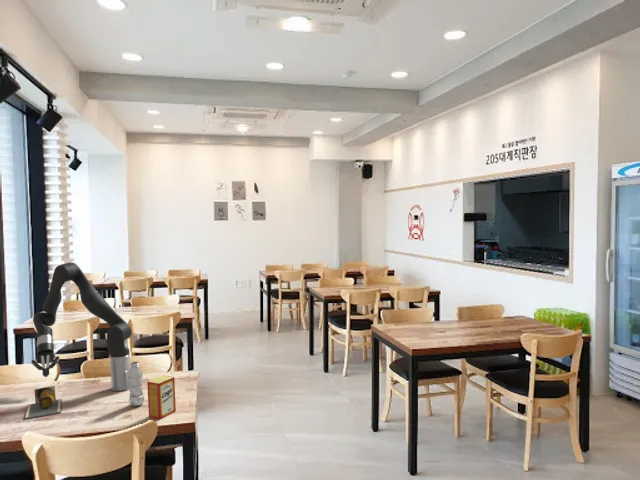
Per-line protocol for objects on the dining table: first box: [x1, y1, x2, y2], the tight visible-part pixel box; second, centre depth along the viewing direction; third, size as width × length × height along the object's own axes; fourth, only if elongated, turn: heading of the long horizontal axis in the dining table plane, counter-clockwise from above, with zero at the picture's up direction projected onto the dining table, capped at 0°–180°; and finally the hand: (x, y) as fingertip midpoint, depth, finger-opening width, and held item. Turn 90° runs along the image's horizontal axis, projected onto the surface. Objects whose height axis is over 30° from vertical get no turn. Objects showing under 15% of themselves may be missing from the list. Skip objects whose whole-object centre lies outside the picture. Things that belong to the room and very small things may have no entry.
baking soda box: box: [146, 375, 177, 420], centre depth 215 cm, size 10×6×16 cm
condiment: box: [33, 385, 57, 409], centre depth 228 cm, size 7×8×12 cm
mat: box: [24, 398, 62, 420], centre depth 225 cm, size 18×14×1 cm
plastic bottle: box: [128, 361, 145, 407], centre depth 226 cm, size 6×7×20 cm
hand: (46, 376), depth 242 cm, fingers closed
